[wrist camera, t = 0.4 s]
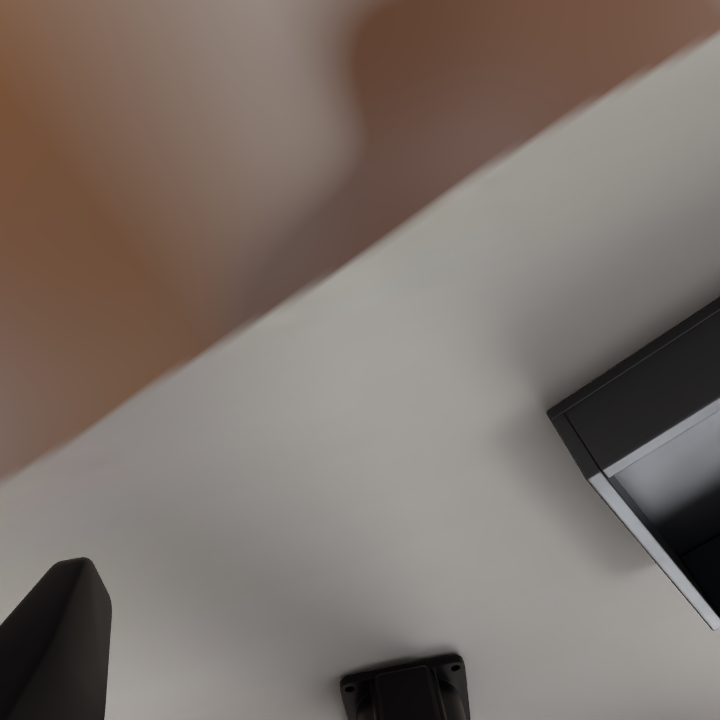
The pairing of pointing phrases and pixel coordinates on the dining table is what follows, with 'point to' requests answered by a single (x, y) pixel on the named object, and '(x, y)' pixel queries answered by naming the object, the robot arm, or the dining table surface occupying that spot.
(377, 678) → the robot arm
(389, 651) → the dining table surface
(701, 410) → the tray
